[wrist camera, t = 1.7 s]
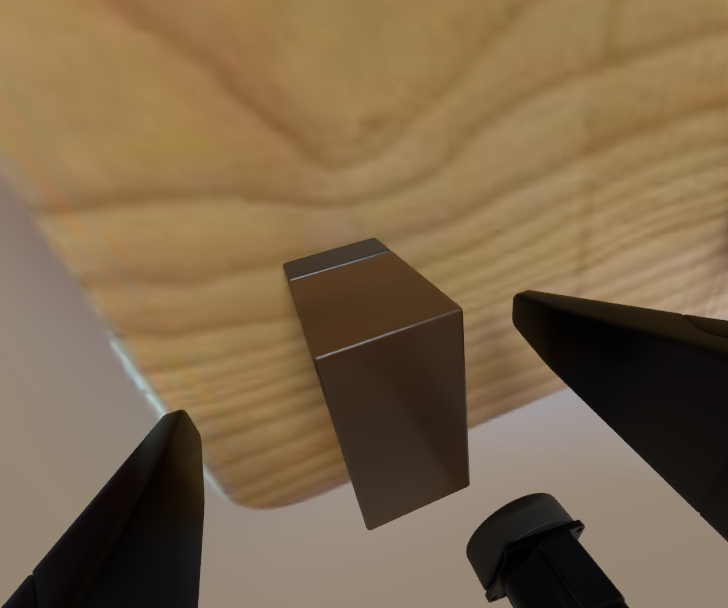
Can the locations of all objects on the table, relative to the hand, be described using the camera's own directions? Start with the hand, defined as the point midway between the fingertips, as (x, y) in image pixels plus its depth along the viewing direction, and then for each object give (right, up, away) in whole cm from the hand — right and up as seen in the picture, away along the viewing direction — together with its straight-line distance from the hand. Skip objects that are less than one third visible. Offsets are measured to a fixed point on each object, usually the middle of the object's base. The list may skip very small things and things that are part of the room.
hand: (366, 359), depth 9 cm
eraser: (0, +1, +1) cm, 2 cm away
